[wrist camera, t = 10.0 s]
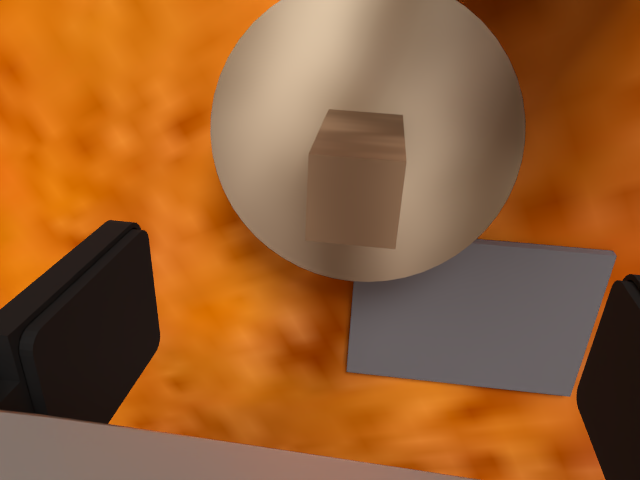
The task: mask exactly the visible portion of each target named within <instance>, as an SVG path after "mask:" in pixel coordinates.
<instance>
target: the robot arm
mask: <svg viewBox="0 0 640 480" xmlns="http://www.w3.org/2000/svg"><path fill="white" fill-rule="evenodd" d="M159 341H160V330H159V321H158V313H157V305H156V296H155V288H154V279H153V271H152V262H151V254H150V246H149V238H148V234H147V232H146V231H145V230H141V228H140V226H139V225H138V224H137V223H133V222H123V221H114V220H109V221H107V222H105V223H104V224H103V225H102V226H101V227H99V228H98V229H97V230H96V231H94V232H93V233H92V234H91V235H90V236H88V237H87V238H86V239H85V240H84V241H82V242H81V243H80V244H79V245H78V246H76V247H75V248H74V249H73V250H72V251H70V252H69V253H68V254H67V255H65V256H64V257H63V258H62V259H61V260H59V261H58V262H57V263H56V264H55V265H53V266H52V267H51V268H50V269H49V270H47V271H46V272H45V273H44V274H43V275H41V276H40V277H39V278H38V279H37V280H35V281H34V282H33V283H32V284H30V285H29V286H28V287H27V288H26V289H24V290H23V291H22V292H21V293H20V294H18V295H17V296H16V297H15V298H14V299H12V300H11V301H10V302H9V303H8V304H6V305H5V306H4V307H3V308H1V309H0V480H479V479H472V478H465V477H459V476H452V475H445V474H439V473H432V472H425V471H419V470H412V469H405V468H399V467H392V466H385V465H379V464H372V463H365V462H359V461H352V460H345V459H339V458H332V457H325V456H319V455H312V454H305V453H299V452H292V451H286V450H279V449H272V448H266V447H259V446H252V445H246V444H239V443H233V442H226V441H219V440H213V439H206V438H199V437H193V436H186V435H179V434H172V433H166V432H159V431H152V430H145V429H138V428H131V427H124V426H117V425H110V424H108V423H109V421H110V420H111V418H112V417H113V415H114V414H115V412H116V411H117V409H118V408H119V406H120V405H121V403H122V402H123V400H124V399H125V397H126V396H127V394H128V393H129V391H130V390H131V388H132V387H133V385H134V384H135V382H136V381H137V379H138V378H139V376H140V375H141V373H142V372H143V370H144V369H145V367H146V366H147V364H148V363H149V361H150V360H151V358H152V357H153V355H154V354H155V352H156V351H157V348H158V346H159ZM577 405H578V409H579V411H580V414H581V417H582V419H583V422H584V424H585V427H586V430H587V432H588V435H589V437H590V440H591V443H592V445H593V448H594V450H595V453H596V456H597V458H598V461H599V464H600V466H601V469H602V471H603V474H604V477H605V479H606V480H640V275H632V274H629V275H627V276H626V277H625V278H624V279H623V281H618V280H617V281H615V282H614V284H613V286H612V288H611V291H610V294H609V297H608V300H607V302H606V305H605V308H604V311H603V314H602V317H601V320H600V323H599V326H598V329H597V332H596V335H595V338H594V341H593V344H592V347H591V350H590V353H589V356H588V359H587V362H586V365H585V368H584V371H583V374H582V377H581V380H580V383H579V385H578V389H577Z"/></svg>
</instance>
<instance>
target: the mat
mask: <svg viewBox="0 0 640 480" xmlns="http://www.w3.org/2000/svg"><path fill="white" fill-rule="evenodd" d="M615 259H616V255H615V253H614V252H613V251H609V250H598V249H586V248H575V247H563V246H552V245H540V244H529V243H517V242H506V241H494V240H483V239H476V240H475V241H474V242H473V243H472V244H470V245H469V246H468V247H466V248H465V249H464V250H462V251H461V252H460V253H458V254H457V255H456V256H454V257H452V258H451V259H449V260H447V261H445V262H444V263H442V264H440V265H438V266H436V267H433V268H431V269H429V270H426V271H424V272H421V273H418V274H415V275H412V276H408V277H405V278H399V279H394V280H388V281H375V282H360V281H354V285H353V298H352V310H351V323H350V335H349V348H348V360H347V372H353V373H362V374H371V375H380V376H389V377H398V378H407V379H416V380H425V381H434V382H443V383H452V384H461V385H470V386H479V387H488V388H498V389H507V390H516V391H525V392H534V393H543V394H552V395H561V396H570V395H571V392H572V389H573V386H574V383H575V380H576V377H577V374H578V371H579V368H580V365H581V362H582V359H583V356H584V353H585V350H586V347H587V344H588V341H589V338H590V335H591V332H592V329H593V326H594V323H595V320H596V317H597V314H598V311H599V308H600V305H601V302H602V299H603V296H604V293H605V290H606V287H607V284H608V281H609V278H610V275H611V272H612V269H613V265H614V262H615Z"/></svg>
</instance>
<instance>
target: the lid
mask: <svg viewBox="0 0 640 480" xmlns="http://www.w3.org/2000/svg"><path fill="white" fill-rule="evenodd" d="M211 144H212V153H213V158H214V162H215V166H216V170H217V174H218V177H219V179H220V182H221V184H222V187H223V190H224V192H225V194H226V196H227V198H228V199H229V201H230V203H231V205H232V207H233V208H234V210H235V211H236V213H237V214H238V216H239V217H240V219H241V220H242V221H243V223H244V224H245V225H246V226H247V227H248V228H249V229H250V231H251V232H252V233H253V234H254V235H255V236H256V237H257V238H258V239H259V240H260V241H262V242H263V243H264V244H265V245H266V246H267V247H268V248H270V249H271V250H272V251H274V252H275V253H277V254H278V255H280V256H281V257H282V258H284V259H286V260H288V261H290V262H291V263H293V264H295V265H297V266H299V267H301V268H304V269H306V270H309V271H311V272H314V273H316V274H320V275H323V276H327V277H330V278H335V279H341V280H347V281H360V282H375V281H388V280H394V279H399V278H405V277H408V276H412V275H415V274H418V273H421V272H424V271H426V270H429V269H431V268H433V267H436V266H438V265H440V264H442V263H444V262H445V261H447V260H449V259H451V258H452V257H454V256H456V255H457V254H458V253H460V252H461V251H462V250H464V249H465V248H466V247H468V246H469V245H470V244H472V243H473V242H474V241H475V240H476V239H477V238H478V237H479V236H480V235H481V234H482V233H483V232H484V231H485V230H486V229H487V228H488V226H489V225H490V224H491V223H492V221H493V220H494V219H495V218H496V216H497V215H498V214H499V212H500V210H501V209H502V207H503V205H504V204H505V202H506V201H507V199H508V197H509V195H510V192H511V190H512V188H513V186H514V184H515V181H516V179H517V175H518V172H519V169H520V165H521V162H522V157H523V150H524V144H525V112H524V104H523V97H522V94H521V90H520V86H519V83H518V79H517V76H516V74H515V71H514V69H513V67H512V65H511V62H510V60H509V58H508V56H507V54H506V53H505V51H504V50H503V48H502V46H501V45H500V43H499V41H498V40H497V38H496V37H495V36H494V35H493V34H492V32H491V31H490V30H489V29H488V28H487V26H486V25H485V24H484V23H483V22H482V21H481V20H480V19H479V18H478V17H477V16H476V15H474V14H473V13H472V12H471V11H470V10H469V9H468V8H466V7H465V6H464V5H462V4H461V3H459V2H458V1H456V0H281V1H279V2H278V3H276V4H275V5H273V6H272V7H270V8H269V9H268V10H267V11H266V12H265V13H264V14H263V15H261V16H260V17H259V18H258V19H257V20H256V21H255V22H254V23H253V24H252V25H251V26H250V27H249V29H248V30H247V31H246V32H245V33H244V35H243V36H242V37H241V38H240V39H239V41H238V43H237V44H236V46H235V47H234V49H233V51H232V52H231V54H230V55H229V57H228V59H227V61H226V64H225V66H224V68H223V70H222V72H221V75H220V77H219V81H218V84H217V88H216V91H215V94H214V99H213V106H212V112H211Z"/></svg>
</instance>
